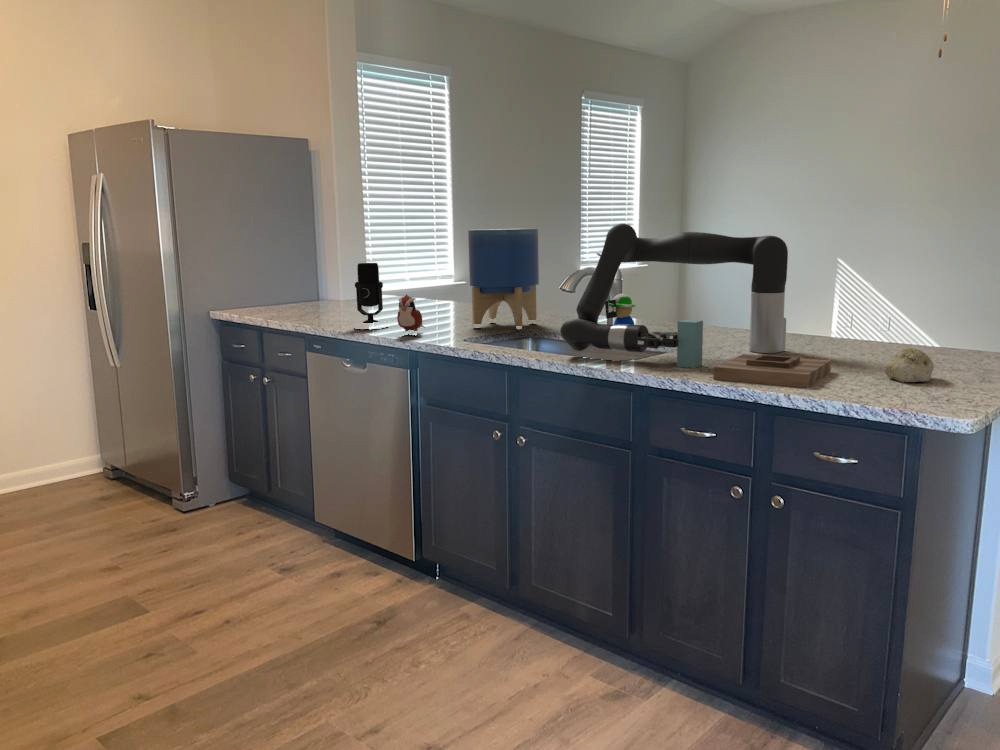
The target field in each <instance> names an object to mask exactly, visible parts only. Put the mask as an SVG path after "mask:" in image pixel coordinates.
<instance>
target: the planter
mask: <svg viewBox="0 0 1000 750" xmlns="http://www.w3.org/2000/svg"><path fill="white" fill-rule="evenodd" d="M467 233H468V234H467V235H468V239H467V240H468V266H469V267H468V268H469V269H468V270H469V271H468V272H469V286H470V287H471V304H472V305H471V307H472V309H471V310H472V311H471V312H472V325H473V324H481V325H482V322H483V319H484V316H485V315H486V312H487V311H488V319H489V318H491V319H494V318H496V319H497V314H498V309H499V306H500V304H501V303H503V302H505V303H506V304H507V306H509V308H510V311H511V313H512V315H513V320H514V327H515V326H522V327H523V310H524V311H525V313H526V317H527V321H528V320H537V286H538V285H540V283H539V282H540V281H539V280H540V277H539V276H540V273H539V272H540V271H539V267H540V266H539V228H538V227H537V228H535V227H534V228H493V229H490V228H489V229H487V228H486V229H468V230H467Z"/></svg>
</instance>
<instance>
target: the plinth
mask: <svg viewBox="0 0 1000 750" xmlns="http://www.w3.org/2000/svg"><path fill="white" fill-rule="evenodd" d="M831 367H832V360H831V359H819V358H818V359H817V358H805V357H804V358H803V357H802V358H801V357H800V356H787V355H771V354H760V353H759V354H746V353H742V354H740V355H737V356H736V357H733V358H731V359H728V360H726V361H724V362H722V363H719V364H717V365H715V366H713V376H712V377H713V380H719V381H720V380H721V381H730V382H731V381H733V382H742V383H752V384H753V383H754V384H764V385H776V386H786V387H800V388H809V387H810V386H812V385H813V384H815V383H816V382H818V381H819V380H822V378H824V377H826V376H827V375H828V374H830V373H831Z"/></svg>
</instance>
